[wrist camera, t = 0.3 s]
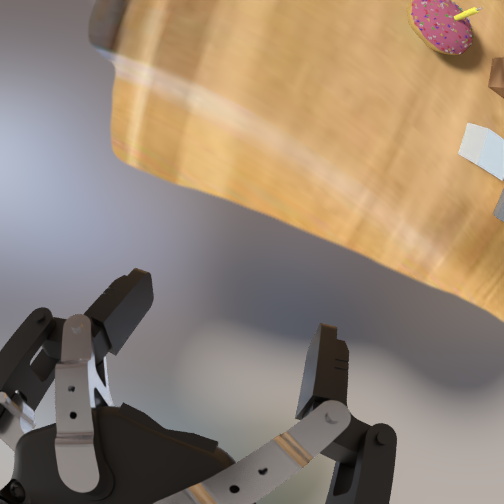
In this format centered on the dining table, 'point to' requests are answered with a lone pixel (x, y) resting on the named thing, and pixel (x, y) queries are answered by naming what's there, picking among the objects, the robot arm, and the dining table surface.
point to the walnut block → (497, 76)
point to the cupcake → (441, 25)
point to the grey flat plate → (500, 208)
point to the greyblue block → (484, 149)
